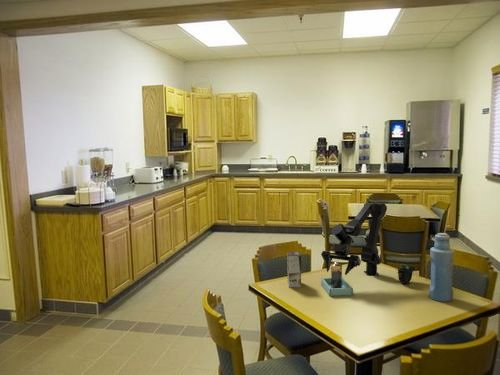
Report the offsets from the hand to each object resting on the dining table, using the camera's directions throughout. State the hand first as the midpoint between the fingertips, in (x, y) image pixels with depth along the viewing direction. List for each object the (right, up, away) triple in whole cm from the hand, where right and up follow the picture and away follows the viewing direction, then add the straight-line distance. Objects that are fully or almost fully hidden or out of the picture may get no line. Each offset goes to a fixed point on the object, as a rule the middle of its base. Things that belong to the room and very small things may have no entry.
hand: (336, 273), depth 192 cm
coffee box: (-19, -8, +10) cm, 23 cm away
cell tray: (0, -9, +1) cm, 9 cm away
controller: (+38, -7, +11) cm, 40 cm away
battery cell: (0, -8, +1) cm, 8 cm away
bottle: (+45, -9, -11) cm, 47 cm away
